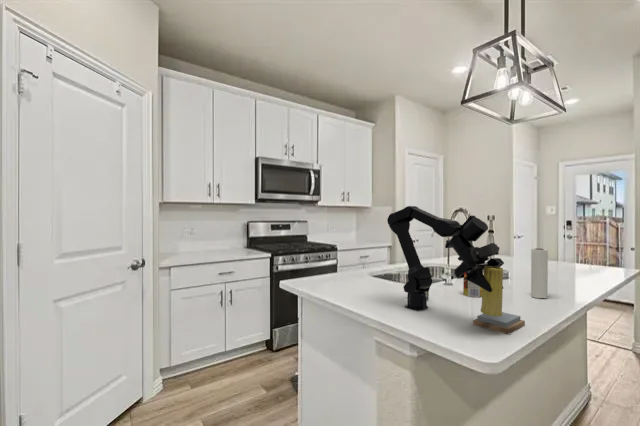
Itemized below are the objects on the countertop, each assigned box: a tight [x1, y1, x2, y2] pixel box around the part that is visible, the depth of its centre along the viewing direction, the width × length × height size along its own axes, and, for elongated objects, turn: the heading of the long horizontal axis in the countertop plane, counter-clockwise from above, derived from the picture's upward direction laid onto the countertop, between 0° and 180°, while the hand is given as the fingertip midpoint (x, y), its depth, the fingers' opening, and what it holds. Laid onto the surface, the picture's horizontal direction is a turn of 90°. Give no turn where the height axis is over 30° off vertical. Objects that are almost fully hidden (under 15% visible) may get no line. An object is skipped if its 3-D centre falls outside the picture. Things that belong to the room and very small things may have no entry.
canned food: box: [462, 272, 483, 299], centre depth 152 cm, size 8×8×12 cm
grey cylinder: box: [530, 247, 549, 299], centre depth 149 cm, size 7×6×21 cm
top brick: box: [476, 311, 521, 328], centre depth 112 cm, size 9×11×2 cm
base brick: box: [472, 318, 526, 335], centre depth 112 cm, size 11×13×2 cm
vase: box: [480, 266, 504, 316], centre depth 105 cm, size 6×6×14 cm
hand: (496, 290), depth 104 cm, fingers closed on vase, 5 cm apart
